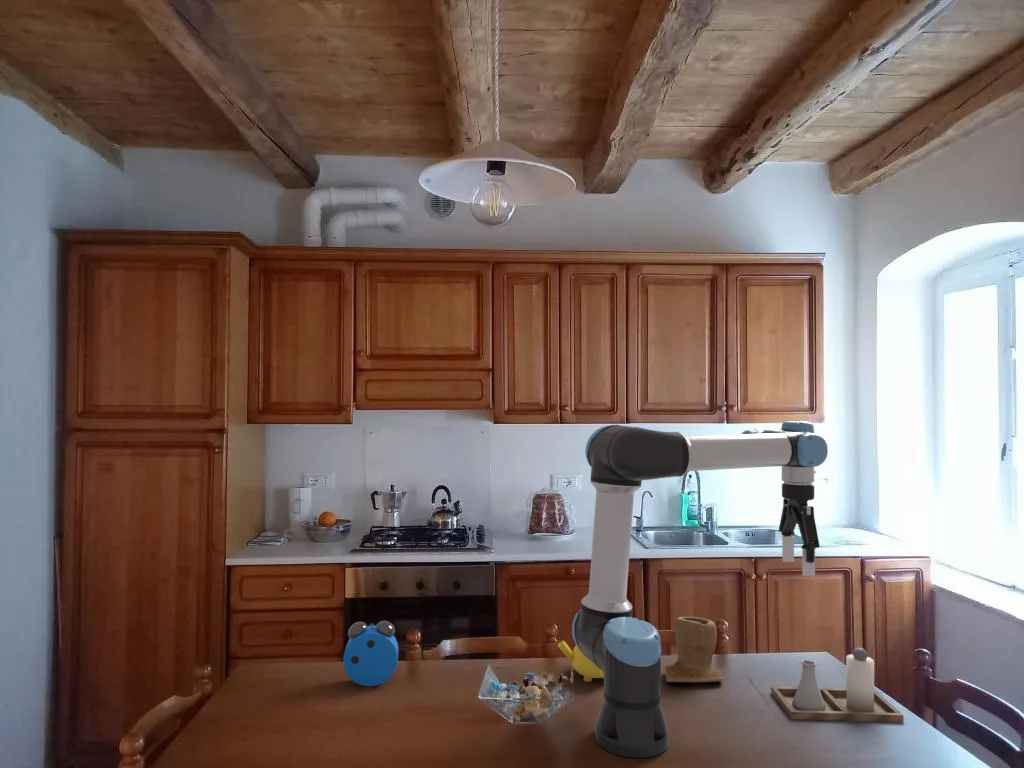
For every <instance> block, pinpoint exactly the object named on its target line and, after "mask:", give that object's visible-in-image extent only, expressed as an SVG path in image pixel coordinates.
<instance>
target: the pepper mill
mask: <svg viewBox="0 0 1024 768" xmlns="http://www.w3.org/2000/svg"><path fill="white" fill-rule="evenodd" d="M867 652H868V651H866V650H865V649H864V648H862V647H855V648H854V649H853V650H852V654H847V655H846V657H845V658H846V659H845V660H846V669H845V672H846V673H845V674H846V676H845V677H846V679H845V680H846V681H845V682H846V688H845V689H846V705H847V707H848V708H849V709H851V710H853V711H855V712H874V690H875V661H874V659H873V658H871V657H869V656H868V653H867Z"/></svg>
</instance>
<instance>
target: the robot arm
mask: <svg viewBox="0 0 1024 768" xmlns="http://www.w3.org/2000/svg"><path fill="white" fill-rule="evenodd" d="M828 447H829V446H828V444H827V441H826V440H825V438H824V437H823V436H821V435H820V434H817V433H815V428H814V424H813V423H812V422H810V421H801V420H799V421H796V420H795V421H794V420H793V421H785V420H784V421H783V422H782V423H781V428H780V429H758V428H757V429H756V428H754V429H746V430H744V431H742V432H741V434H716V435H715V434H714V435H709V434H708V435H684V434H683V433H682V432H680V431H661V430H653V429H647V428H643V427H638V426H637V427H636V426H629V425H628V426H626V425H620V424H610V425H605V426H601V427H600V428H598V429H596V430H594V431H593V433H592V434H591V435H590V436H589V438H588V440H587V441H586V445H585V452H584V453H585V458H586V461H587V463H588V465H589V466H590V468H591V469H590V482H589V483H591V485H592V486H593V487H594V488H595V504H594V517H593V518H594V519H593V531H592V533H593V534H592V546H591V559H590V572H589V583H588V584H589V585H588V586H589V587H588V593H587V594H586V595H585V596H584V597H583V598H582V599H581V602H580V609H579V610H578V612H576V614H575V615H574V617H573V620H572V625H571V633H572V639H573V641H574V642H575V643H574V644H575V646H576V645H577V646H578V648H579V649H580V651H581V652H582V653H583V654H584V656H585V657H587V658H588V659H590V660H591V661H592V662H593V663H594V664H595V665H596V666H597V667H598V668H599V669H601V670H602V671H603V673H604V678H603V700H602V703H601V706H600V710H599V712H598V716H597V719H596V722H595V726H594V737H595V741H596V743H597V744H598V745H599V746H600V747H601V748H603V749H604V750H606V751H607V752H609V753H612V754H615V755H618V756H620V757H626V758H636V759H641V758H651V757H657V756H659V755H661V754H662V753H664V752H665V751H666V750H667V749H668V748H669V745H670V731H669V728H668V724H667V722H666V718H665V715H664V712H663V708H662V705H661V674H662V673H661V666H662V665H661V662H662V661H661V660H662V659H661V658H662V657H661V656H662V645H661V637H660V636H661V635H660V634H659V632H658V631H659V630H657V628H656V627H655V626H654V625H652V624H651V623H650V622H648V621H645V620H640V619H638V618H636V617H632V616H633V605H632V603H631V602H630V601H629V600H628V598H627V592H628V581H629V579H628V578H629V565H630V552H631V541H632V539H631V538H632V524H633V513H634V512H633V511H634V510H633V509H634V508H633V507H634V499H635V497H634V496H635V493H636V492H637V491H639V489H640V488H641V487H642V482H643V481H650V480H657V479H665V478H676V477H677V478H678V477H683V476H685V475H686V474H687V473H688V472H697V471H698V472H699V471H715V470H716V471H717V470H732V469H734V470H735V469H753V468H767V467H768V468H770V467H781V481H782V482H783V483H781V497H782V498H783V499H782V501H783V502H782V504H783V506H782V511H781V517H780V522H779V526H778V530H779V532H781V533H780V534H781V535H782V536H781V538H782V541H781V542H782V544H781V545H782V550H781V552H782V557H781V558H782V562H783V563H788V562H789V563H794V562H795V536H796V534H795V528H796V526H798V529H799V533H800V537H801V540H802V543H803V544H801V549H802V550H801V553H802V554H801V555H802V557H801V558H802V559H801V562H802V563H801V564H802V565H801V567H802V568H801V570H802V576H804V577H805V576H807V577H812V576H813V577H815V576H816V549H817V548H820V542H819V541H820V540H819V536H818V531H817V530H818V529H817V524H816V520H815V510H814V509H815V508H814V506H813V505H809V504H808V502H809V501H812V500H814V499H815V485H814V484H812V483H814V482H815V474H816V473H817V471H816V469H815V468H816V467H819V466H821V465H822V464H823V463H824V462H825V461H826V459H827V457H828V451H829V449H828Z"/></svg>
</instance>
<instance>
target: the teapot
mask: <svg viewBox="0 0 1024 768" xmlns="http://www.w3.org/2000/svg"><path fill="white" fill-rule="evenodd" d="M557 647H558V648H559V650H560V651H562V653H563V655H564V656H566V657H567V658H568V660H569V661H570V663H571V665H572V668H573V669H574V670H575V671H576V673H578V674H579V675H581V676H584V677H583V679H582V680H583V681H584V682H586V683H590V682H592V681H593V679H604V673H603V671H602V670H601V669H599V668H598V667H597V666H596V665H595V664H594V663H593V662H592V661H591V660H590V659H588V658H587V657H585V656H584V654H583V653H582V652H581V651H580V649H579V648H578V646H577V645H576V644H575V646H574V648H573V650H571V648H570V646H569V645H568V644H567V643H566V642H565V640H561V641H560V642H558V644H557Z"/></svg>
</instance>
